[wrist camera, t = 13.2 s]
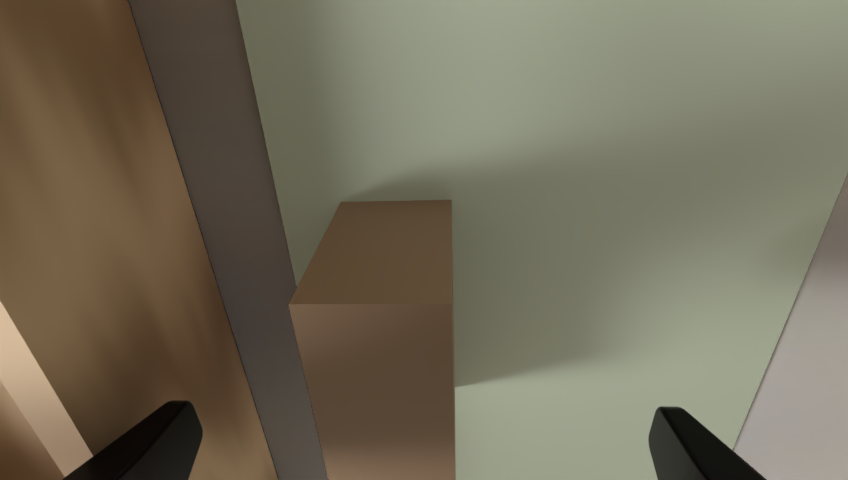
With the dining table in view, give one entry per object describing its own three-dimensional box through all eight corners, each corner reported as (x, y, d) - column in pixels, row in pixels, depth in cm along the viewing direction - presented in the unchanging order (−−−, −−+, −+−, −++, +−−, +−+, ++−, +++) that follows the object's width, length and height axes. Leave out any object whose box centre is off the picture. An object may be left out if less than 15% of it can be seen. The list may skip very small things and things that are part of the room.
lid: (698, 481, 16) (785, 653, 12) (345, 474, 17) (310, 633, 13) (980, -255, 7) (1697, -582, 3) (212, -194, 8) (-43, -388, 4)
